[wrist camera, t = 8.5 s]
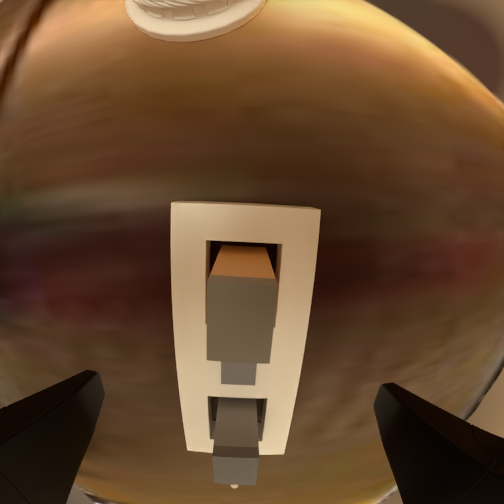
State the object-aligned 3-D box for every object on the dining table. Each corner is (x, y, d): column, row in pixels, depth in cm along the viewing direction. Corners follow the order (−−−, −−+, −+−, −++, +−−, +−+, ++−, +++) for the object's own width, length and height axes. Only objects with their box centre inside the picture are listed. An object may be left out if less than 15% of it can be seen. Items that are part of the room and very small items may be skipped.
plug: (261, 301, 21) (269, 363, 13) (219, 298, 21) (206, 360, 13) (265, 247, 20) (278, 285, 12) (222, 244, 20) (207, 281, 12)
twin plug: (252, 416, 23) (255, 484, 16) (220, 415, 23) (214, 483, 16) (255, 386, 23) (259, 457, 15) (220, 384, 22) (212, 456, 15)
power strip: (271, 483, 26) (272, 503, 23) (198, 480, 26) (195, 500, 23) (311, 207, 19) (324, 211, 16) (180, 200, 19) (167, 203, 16)
